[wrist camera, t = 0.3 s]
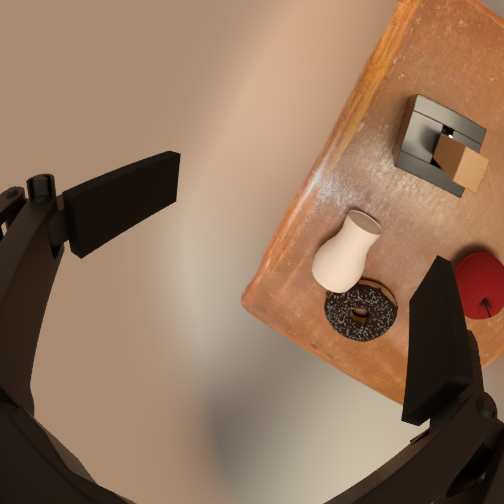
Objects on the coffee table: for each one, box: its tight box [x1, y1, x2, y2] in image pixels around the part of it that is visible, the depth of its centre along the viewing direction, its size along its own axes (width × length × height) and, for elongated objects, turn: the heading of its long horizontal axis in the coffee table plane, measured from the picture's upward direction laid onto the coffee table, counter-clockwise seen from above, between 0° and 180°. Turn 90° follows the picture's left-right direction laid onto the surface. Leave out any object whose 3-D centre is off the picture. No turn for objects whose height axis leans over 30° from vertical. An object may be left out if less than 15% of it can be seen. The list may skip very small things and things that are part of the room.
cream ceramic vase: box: [312, 210, 382, 293], centre depth 39 cm, size 7×7×10 cm
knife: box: [433, 131, 489, 194], centre depth 22 cm, size 3×2×19 cm, turn 168°
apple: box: [454, 252, 504, 319], centre depth 30 cm, size 9×9×10 cm
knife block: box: [392, 94, 486, 198], centre depth 26 cm, size 8×8×9 cm
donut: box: [324, 280, 398, 342], centre depth 44 cm, size 11×12×4 cm
